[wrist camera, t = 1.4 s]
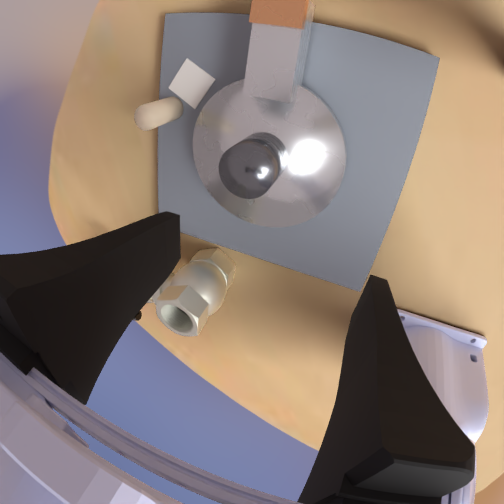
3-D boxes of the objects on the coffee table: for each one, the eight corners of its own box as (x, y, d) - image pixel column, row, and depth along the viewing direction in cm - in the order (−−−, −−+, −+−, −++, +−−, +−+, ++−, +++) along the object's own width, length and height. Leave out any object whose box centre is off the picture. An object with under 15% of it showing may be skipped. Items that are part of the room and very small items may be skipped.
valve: (223, 226, 24) (121, 244, 30) (178, 278, 19) (77, 284, 25) (252, 295, 27) (151, 298, 33) (219, 353, 22) (115, 341, 28)
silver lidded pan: (325, 237, 20) (313, 273, 17) (196, 198, 22) (166, 224, 19) (378, 19, 12) (380, 6, 9) (215, -3, 14) (178, -13, 11)
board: (436, 58, 13) (452, 56, 10) (361, 283, 22) (355, 321, 19) (174, 14, 16) (135, 11, 13) (165, 219, 26) (136, 244, 23)
